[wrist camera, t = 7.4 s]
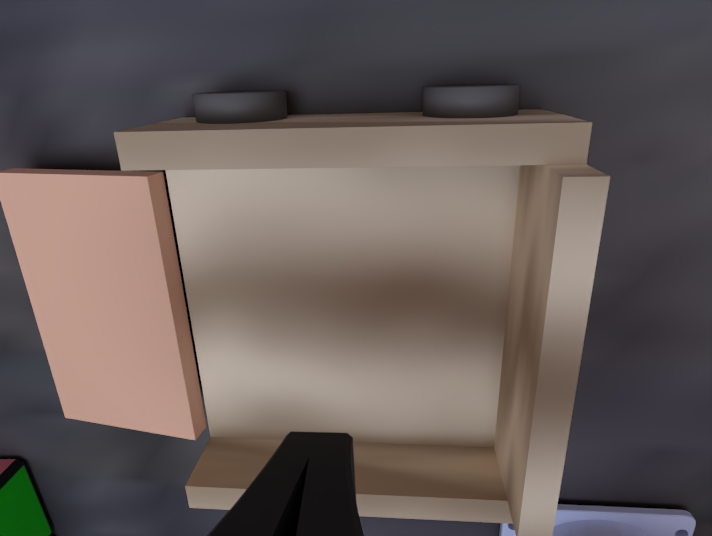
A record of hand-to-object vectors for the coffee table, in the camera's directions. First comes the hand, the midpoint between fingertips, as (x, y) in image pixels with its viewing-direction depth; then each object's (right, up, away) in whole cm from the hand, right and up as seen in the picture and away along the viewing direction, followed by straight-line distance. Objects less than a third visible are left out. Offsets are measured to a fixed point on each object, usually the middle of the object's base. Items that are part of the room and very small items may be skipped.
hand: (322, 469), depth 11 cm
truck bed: (+1, +3, +8) cm, 9 cm away
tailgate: (-5, +3, +7) cm, 9 cm away
